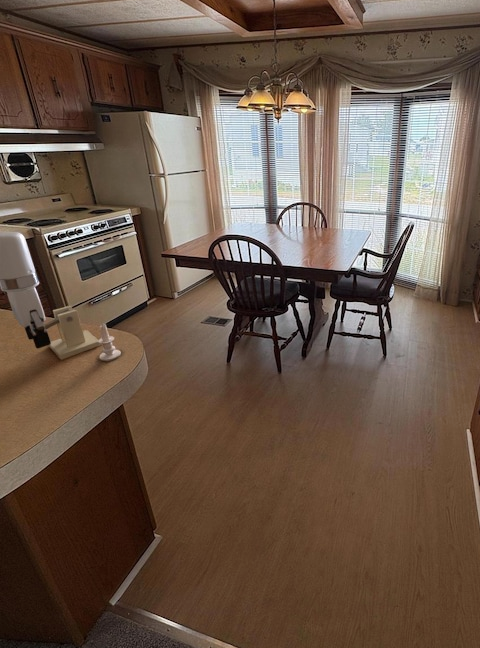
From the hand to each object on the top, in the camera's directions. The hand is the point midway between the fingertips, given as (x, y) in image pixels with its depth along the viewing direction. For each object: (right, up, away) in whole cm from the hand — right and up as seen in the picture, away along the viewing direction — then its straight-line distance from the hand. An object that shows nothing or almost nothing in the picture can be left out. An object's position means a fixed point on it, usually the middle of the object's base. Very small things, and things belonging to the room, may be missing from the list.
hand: (39, 341), depth 94 cm
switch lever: (+3, +4, +2) cm, 5 cm away
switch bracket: (+4, -3, +7) cm, 9 cm away
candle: (+17, -5, +3) cm, 18 cm away
